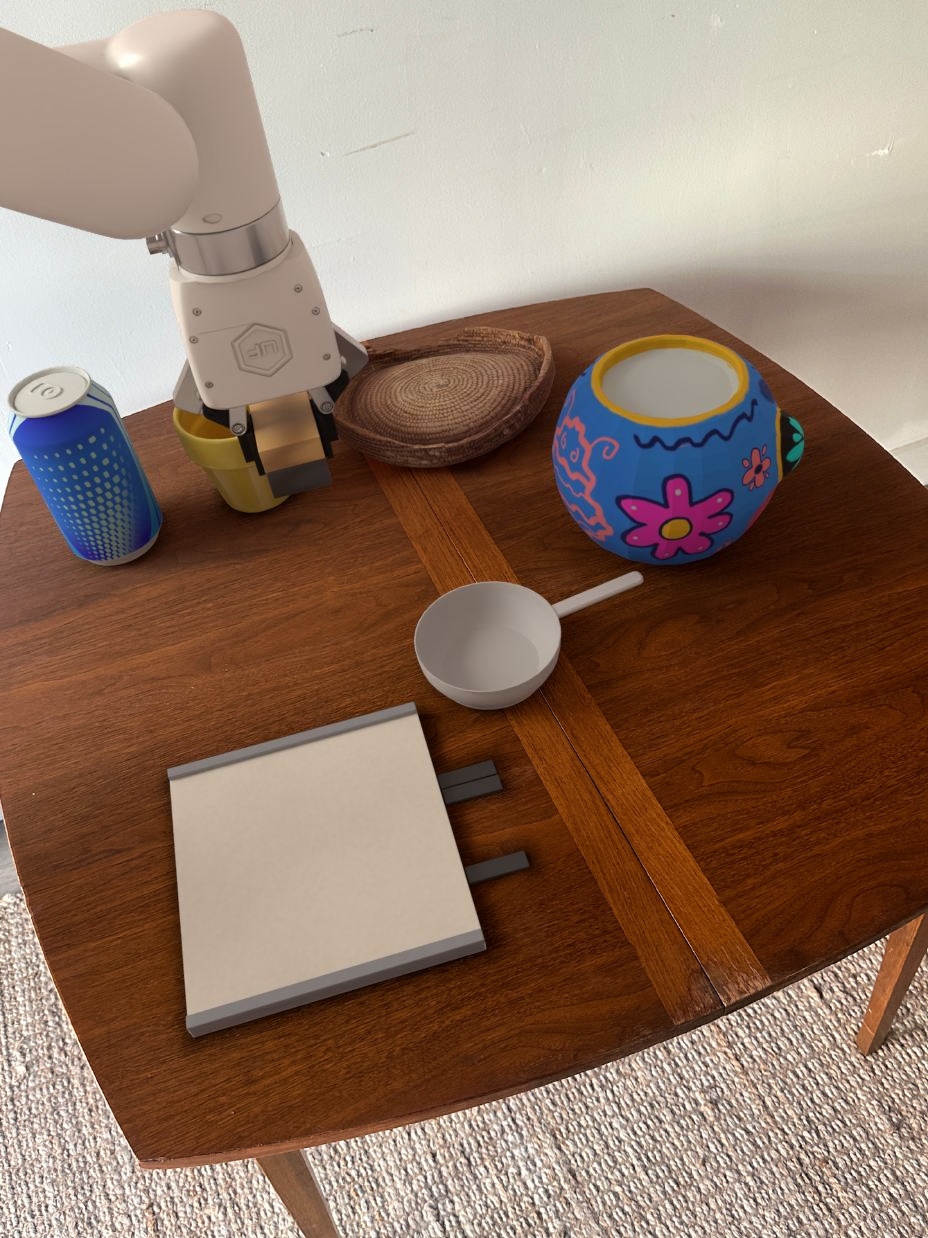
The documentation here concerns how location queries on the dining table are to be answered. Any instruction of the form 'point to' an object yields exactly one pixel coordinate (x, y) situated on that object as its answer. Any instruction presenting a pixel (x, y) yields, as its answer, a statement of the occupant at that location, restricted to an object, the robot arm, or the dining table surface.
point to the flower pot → (224, 462)
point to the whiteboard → (314, 869)
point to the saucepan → (497, 639)
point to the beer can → (84, 464)
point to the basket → (445, 397)
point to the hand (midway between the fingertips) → (294, 454)
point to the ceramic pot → (671, 448)
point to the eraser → (290, 445)
